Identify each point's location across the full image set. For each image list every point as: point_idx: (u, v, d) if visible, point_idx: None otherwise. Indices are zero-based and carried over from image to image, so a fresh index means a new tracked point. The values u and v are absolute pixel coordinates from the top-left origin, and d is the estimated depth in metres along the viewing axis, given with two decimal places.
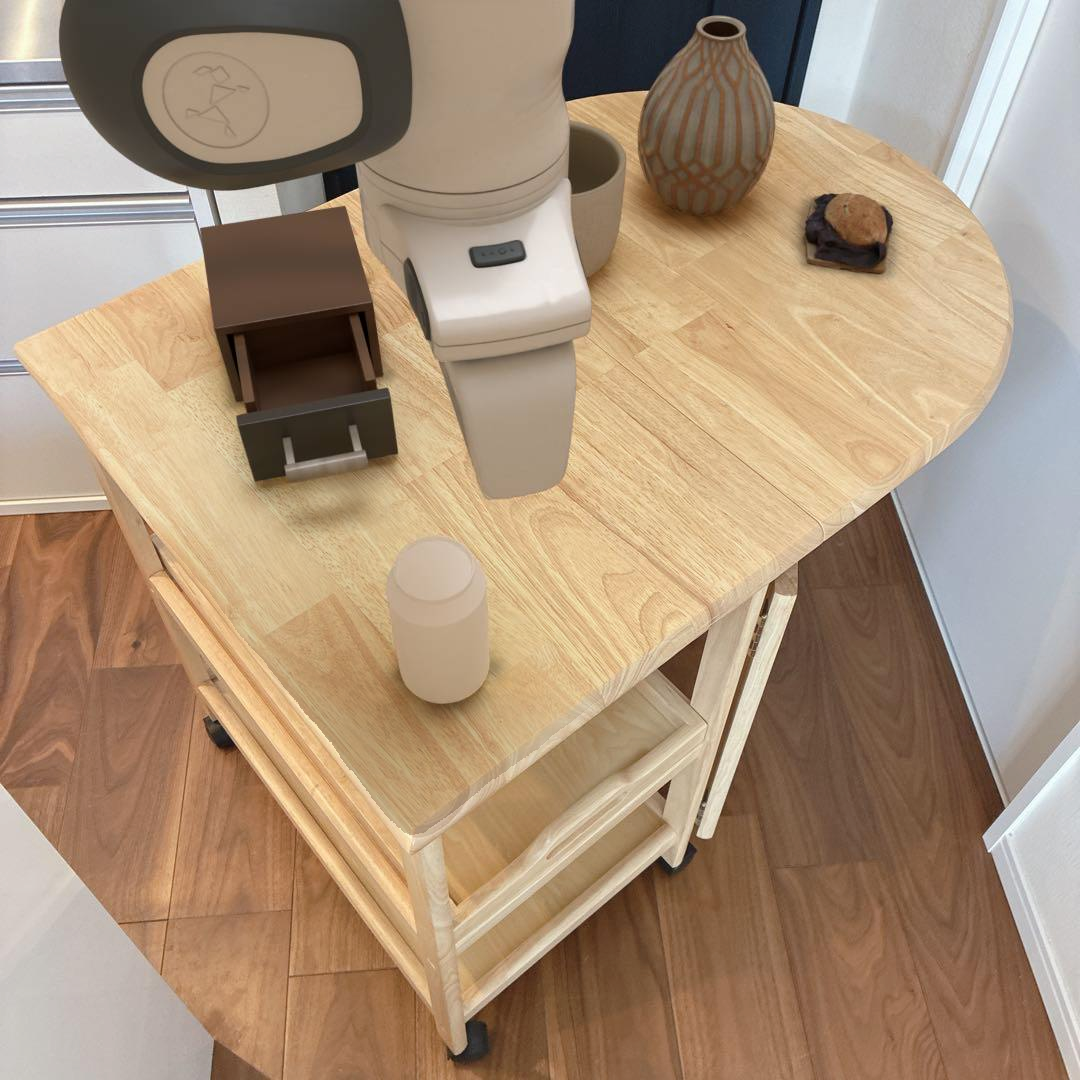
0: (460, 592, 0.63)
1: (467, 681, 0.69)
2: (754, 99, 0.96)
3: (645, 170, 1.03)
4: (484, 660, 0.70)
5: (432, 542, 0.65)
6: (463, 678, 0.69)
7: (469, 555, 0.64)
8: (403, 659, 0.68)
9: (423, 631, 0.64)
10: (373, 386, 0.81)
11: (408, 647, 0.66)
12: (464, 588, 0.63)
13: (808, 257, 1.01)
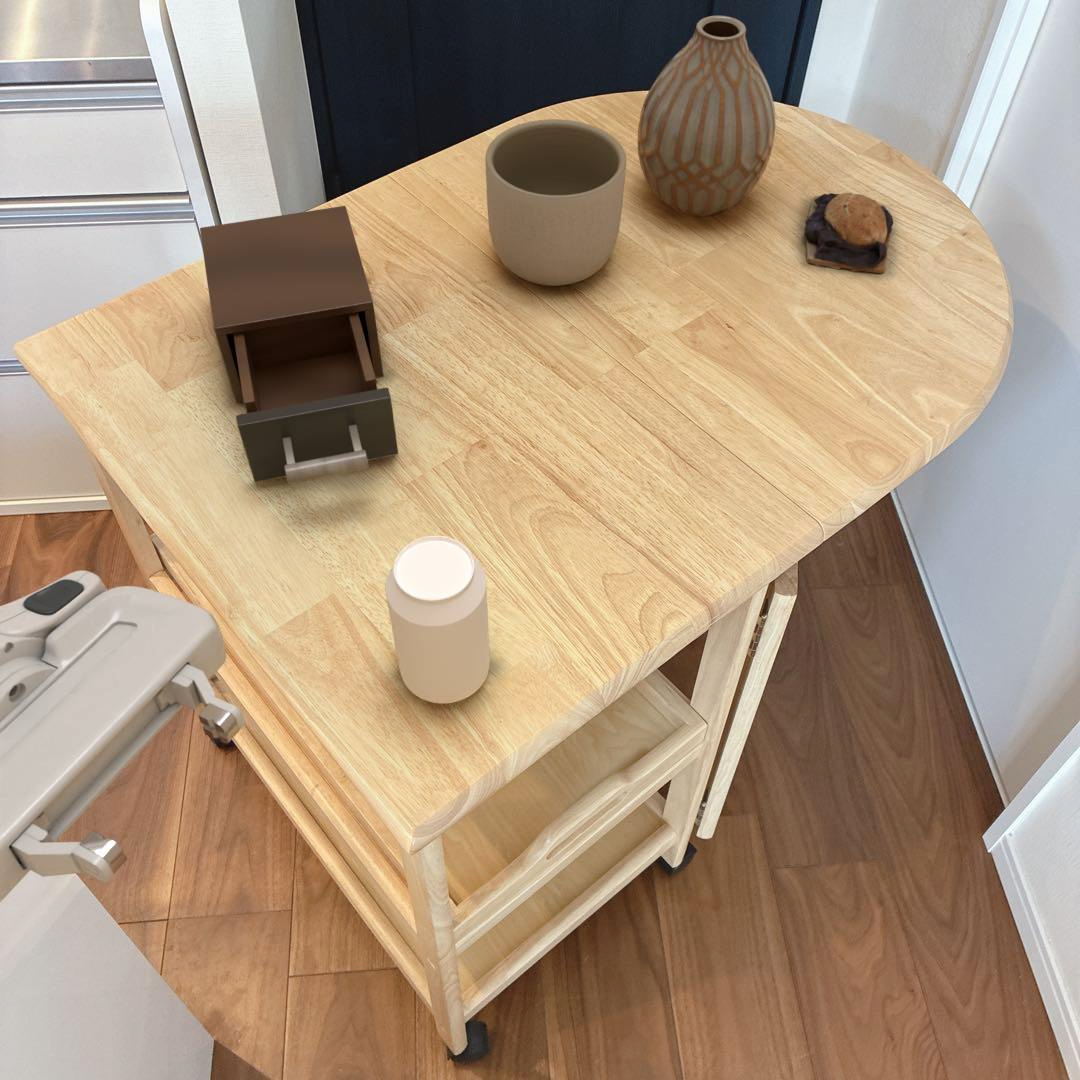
0: (460, 592, 0.63)
1: (467, 681, 0.69)
2: (754, 99, 0.96)
3: (645, 170, 1.03)
4: (484, 660, 0.70)
5: (432, 542, 0.65)
6: (463, 678, 0.69)
7: (469, 555, 0.64)
8: (403, 659, 0.68)
9: (423, 631, 0.64)
10: (373, 386, 0.81)
11: (408, 647, 0.66)
12: (464, 588, 0.63)
13: (808, 257, 1.01)
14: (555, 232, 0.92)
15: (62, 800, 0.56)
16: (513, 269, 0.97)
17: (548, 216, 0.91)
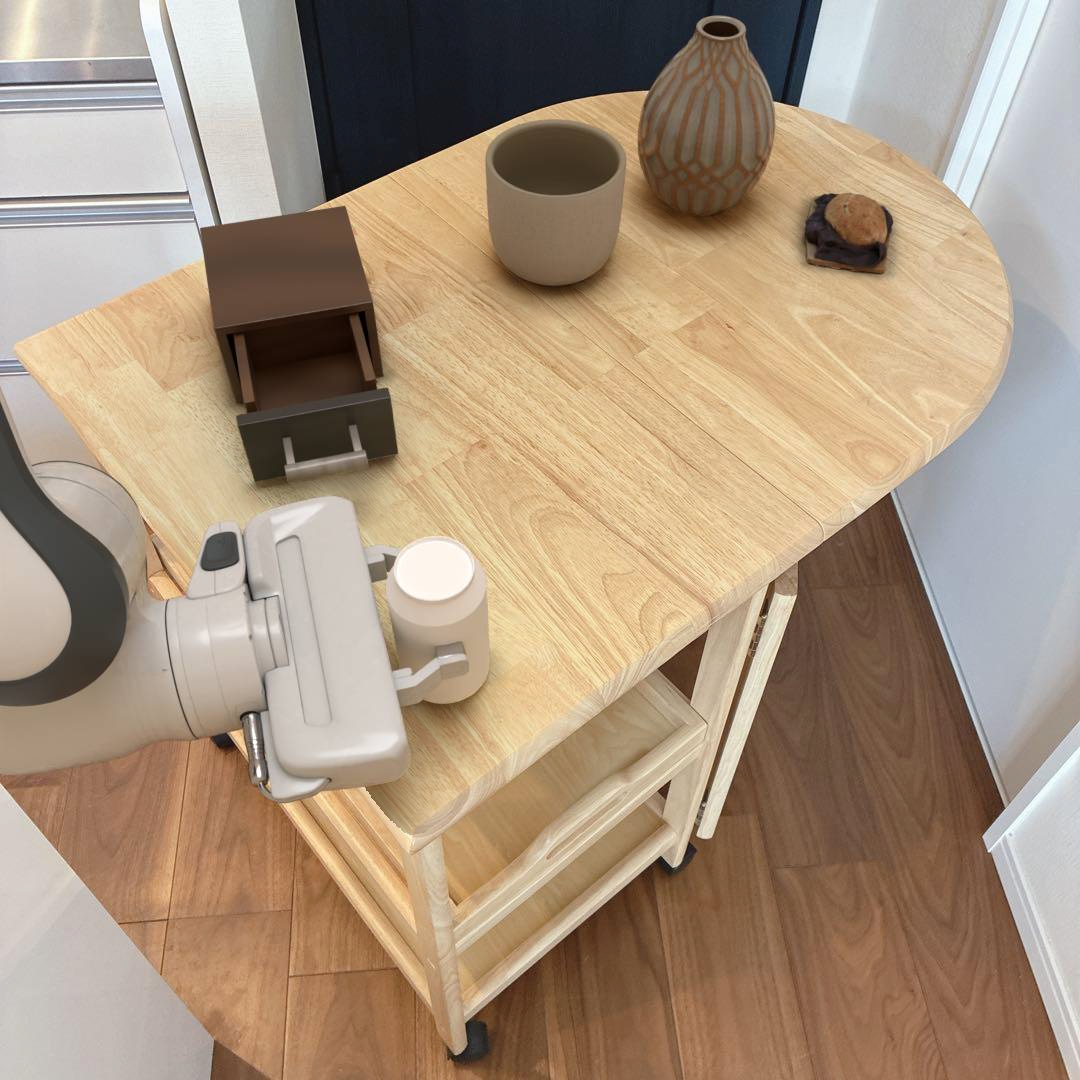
0: (461, 592, 0.63)
1: (468, 681, 0.69)
2: (754, 99, 0.96)
3: (645, 170, 1.03)
4: (484, 660, 0.70)
5: (432, 542, 0.65)
6: (463, 679, 0.69)
7: (469, 555, 0.64)
8: (403, 659, 0.68)
9: (423, 632, 0.64)
10: (373, 386, 0.81)
11: (408, 648, 0.66)
12: (464, 588, 0.63)
13: (808, 257, 1.01)
14: (555, 232, 0.92)
15: None
16: (513, 269, 0.97)
17: (548, 216, 0.91)
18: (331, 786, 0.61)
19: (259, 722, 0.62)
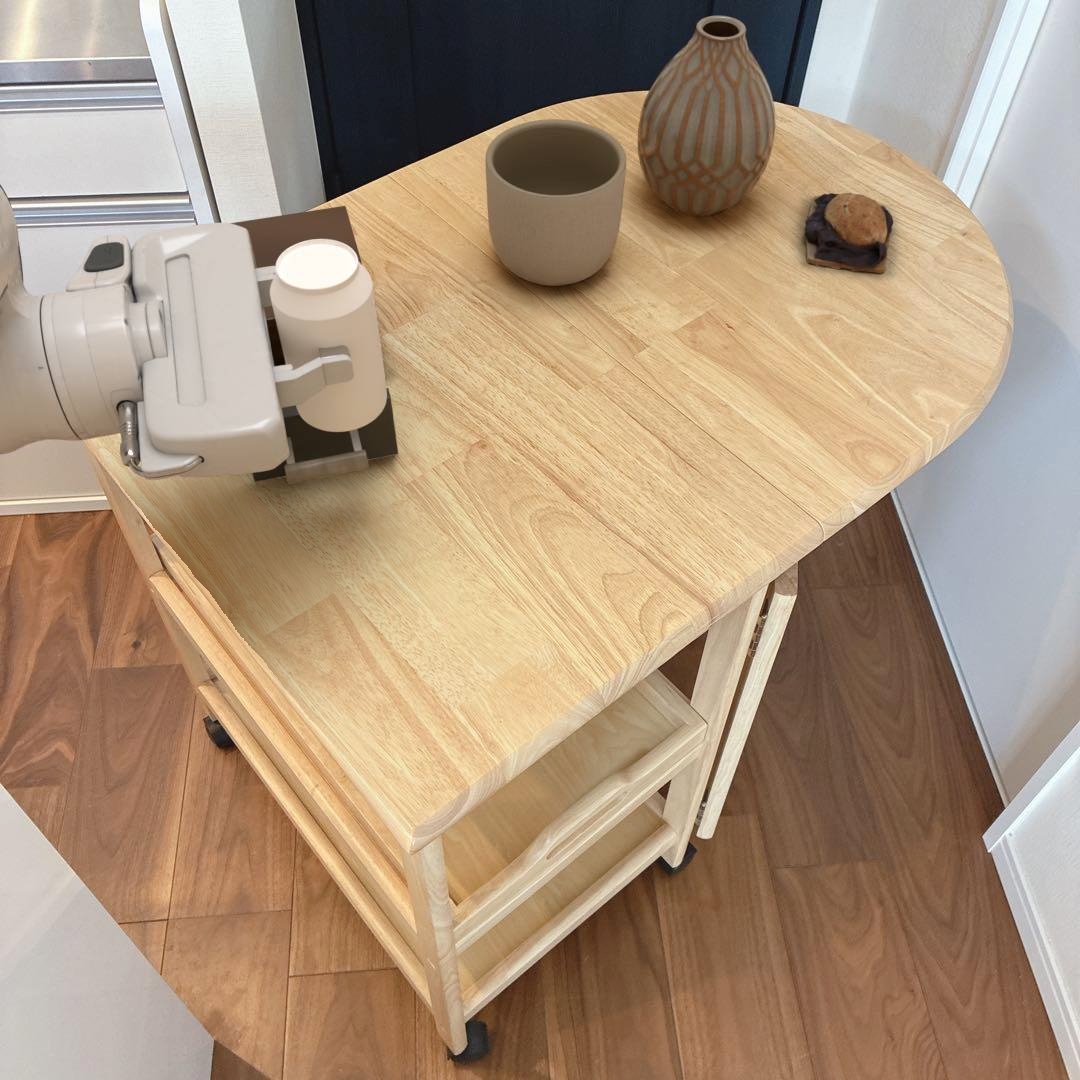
0: (342, 283, 0.62)
1: (359, 404, 0.69)
2: (754, 99, 0.96)
3: (645, 170, 1.03)
4: (377, 384, 0.69)
5: (318, 245, 0.64)
6: (354, 399, 0.68)
7: (354, 255, 0.64)
8: None
9: (306, 328, 0.63)
10: None
11: (294, 355, 0.65)
12: (346, 280, 0.62)
13: (808, 257, 1.01)
14: (555, 232, 0.92)
15: None
16: (513, 269, 0.97)
17: (548, 216, 0.91)
18: (205, 470, 0.60)
19: (135, 410, 0.61)
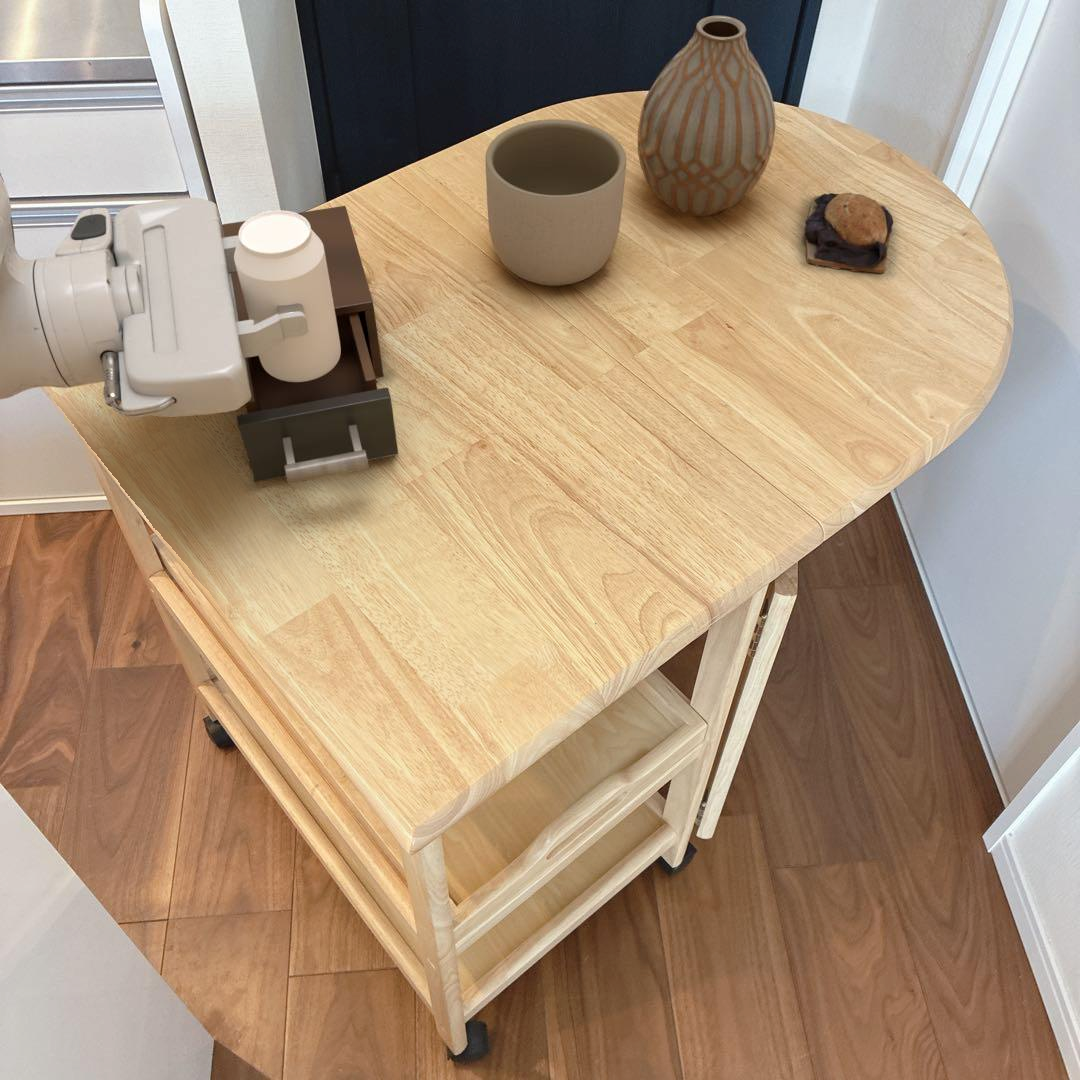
0: (296, 248, 0.71)
1: (315, 356, 0.78)
2: (754, 99, 0.96)
3: (645, 170, 1.03)
4: (331, 339, 0.78)
5: (276, 215, 0.74)
6: (310, 352, 0.77)
7: (307, 224, 0.73)
8: None
9: (265, 288, 0.72)
10: (373, 386, 0.81)
11: (257, 313, 0.75)
12: (299, 246, 0.72)
13: (808, 257, 1.01)
14: (555, 232, 0.92)
15: None
16: (513, 269, 0.97)
17: (548, 216, 0.91)
18: (177, 410, 0.70)
19: (116, 359, 0.71)
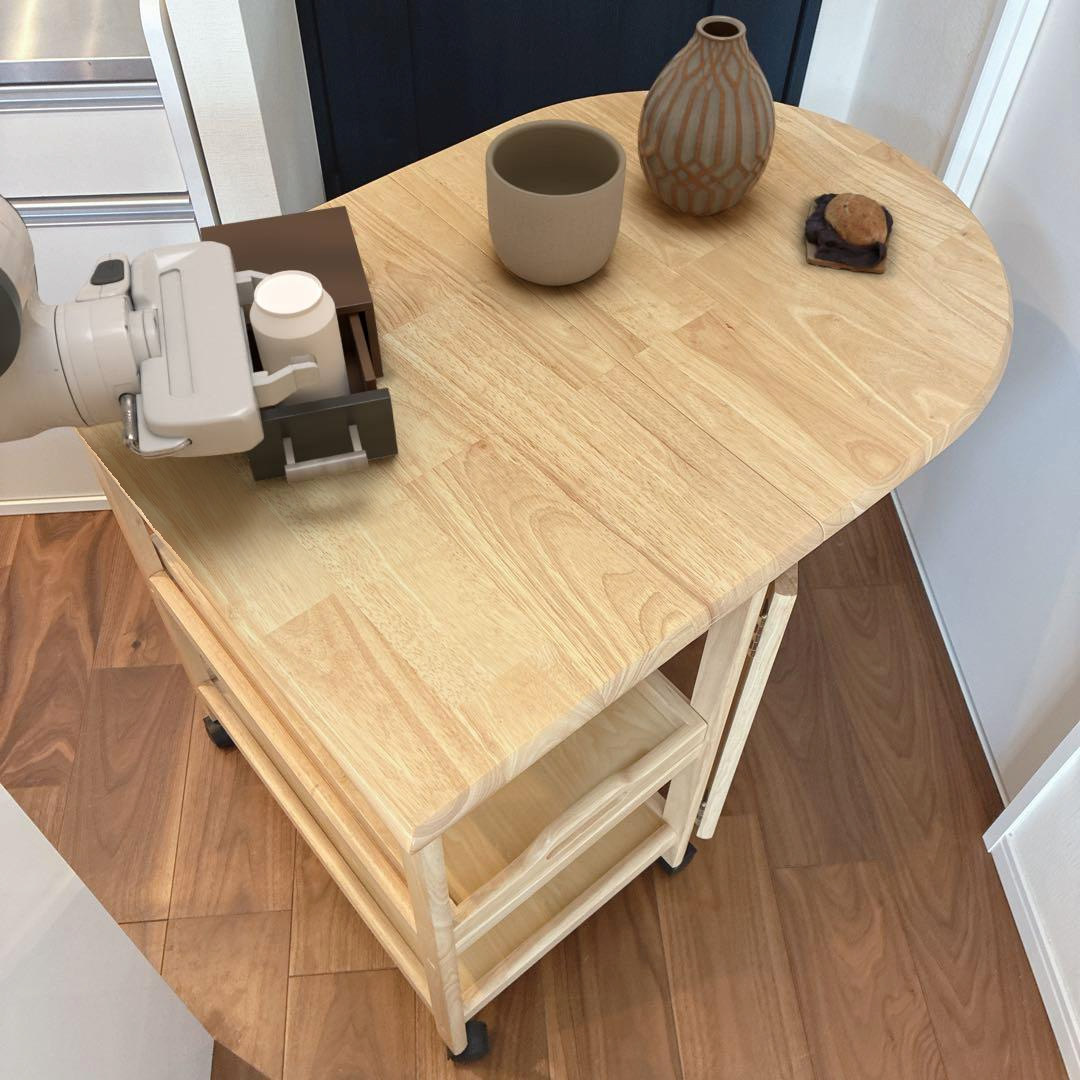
0: (308, 308, 0.75)
1: None
2: (754, 99, 0.96)
3: (645, 170, 1.03)
4: (341, 390, 0.82)
5: (289, 275, 0.78)
6: None
7: (319, 284, 0.77)
8: None
9: (279, 345, 0.76)
10: (373, 386, 0.81)
11: (271, 367, 0.79)
12: (311, 306, 0.76)
13: (808, 257, 1.01)
14: (555, 232, 0.92)
15: None
16: (513, 269, 0.97)
17: (548, 216, 0.91)
18: (193, 450, 0.72)
19: (134, 401, 0.73)
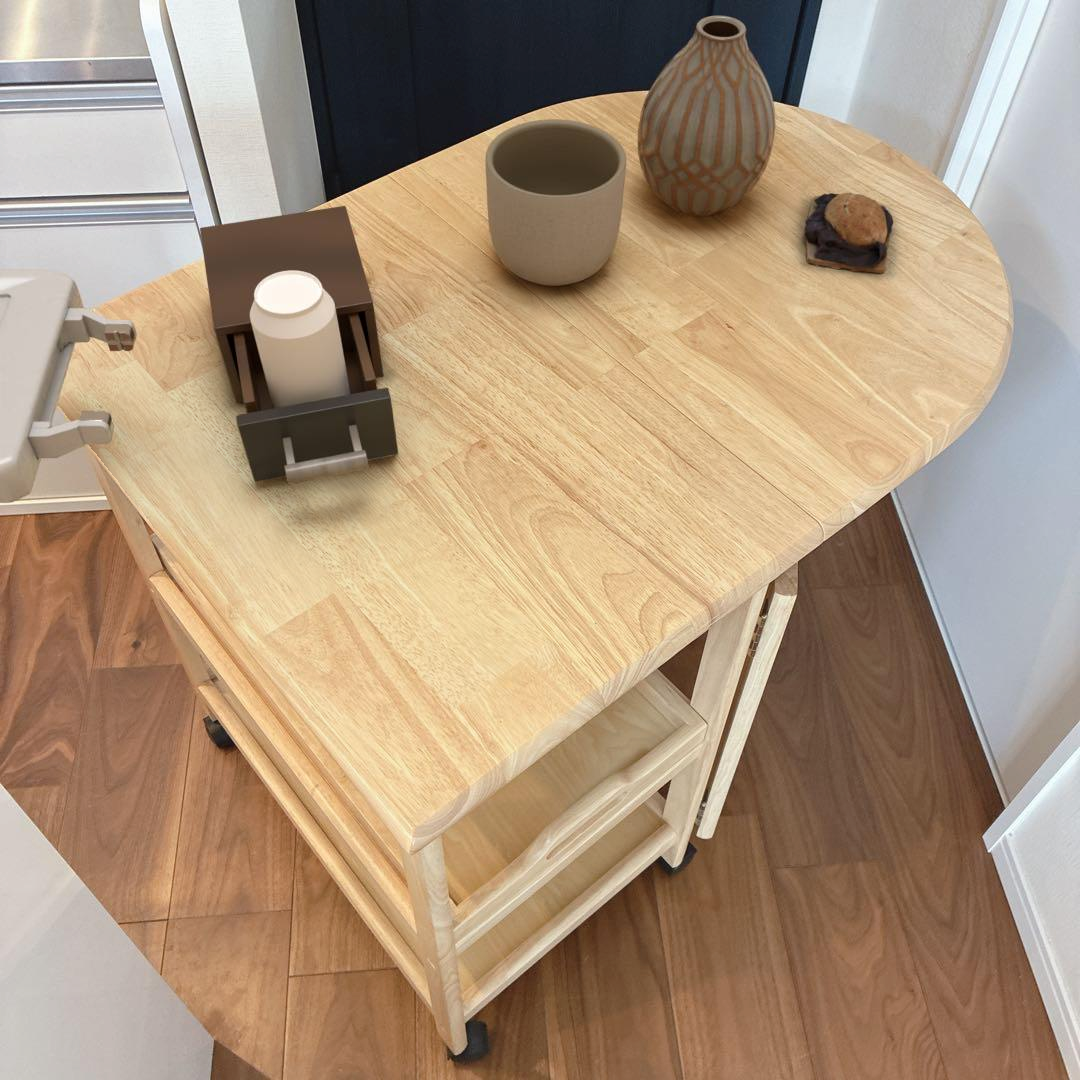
0: (308, 308, 0.75)
1: None
2: (754, 99, 0.96)
3: (645, 170, 1.03)
4: (341, 390, 0.82)
5: (289, 275, 0.78)
6: None
7: (319, 284, 0.77)
8: (270, 384, 0.81)
9: (279, 345, 0.76)
10: (373, 386, 0.81)
11: (271, 367, 0.79)
12: (311, 306, 0.76)
13: (808, 257, 1.01)
14: (555, 232, 0.92)
15: (34, 413, 0.72)
16: (513, 269, 0.97)
17: (548, 216, 0.91)
18: None
19: None
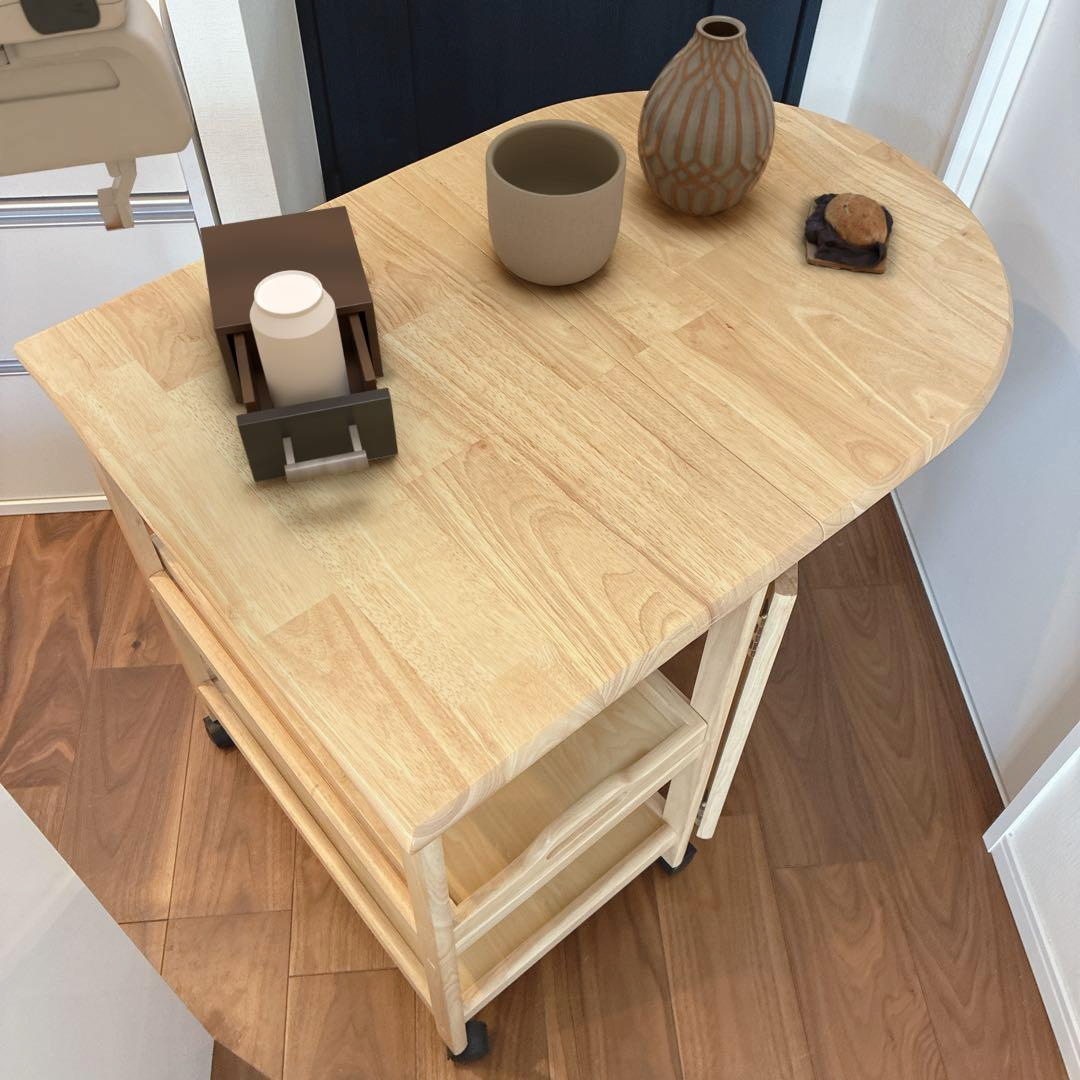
0: (308, 308, 0.75)
1: None
2: (754, 99, 0.96)
3: (645, 170, 1.03)
4: (341, 390, 0.82)
5: (289, 275, 0.78)
6: None
7: (319, 284, 0.77)
8: (270, 384, 0.81)
9: (279, 345, 0.76)
10: (373, 386, 0.81)
11: (271, 367, 0.79)
12: (311, 306, 0.76)
13: (808, 257, 1.01)
14: (555, 232, 0.92)
15: None
16: (513, 269, 0.97)
17: (548, 216, 0.91)
18: None
19: None
